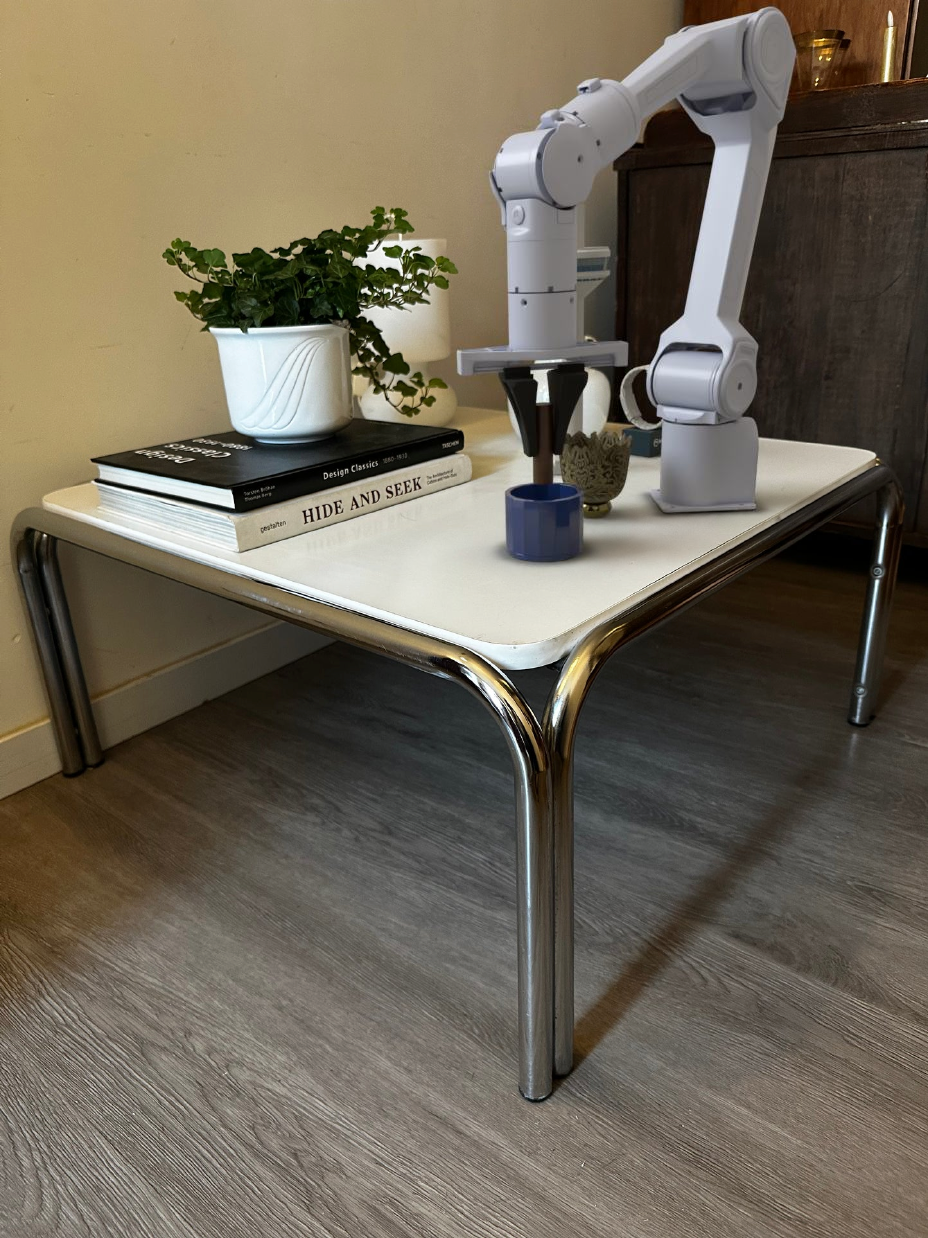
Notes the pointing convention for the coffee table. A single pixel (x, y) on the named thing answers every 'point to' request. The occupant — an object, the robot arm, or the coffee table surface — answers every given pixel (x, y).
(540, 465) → the brown cylinder
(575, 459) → the cup
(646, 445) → the watch
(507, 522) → the cup
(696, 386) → the robot arm
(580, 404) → the model tower
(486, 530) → the coffee table surface
